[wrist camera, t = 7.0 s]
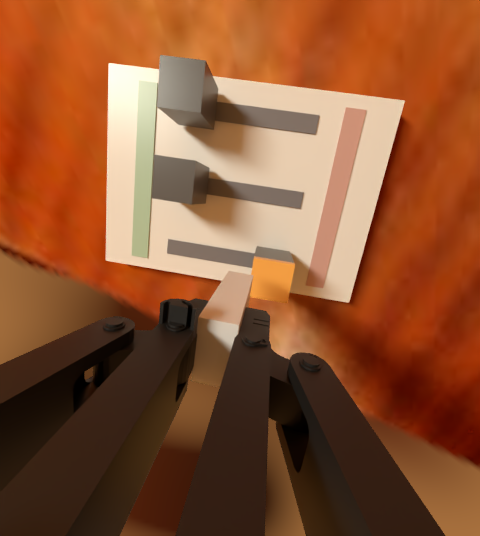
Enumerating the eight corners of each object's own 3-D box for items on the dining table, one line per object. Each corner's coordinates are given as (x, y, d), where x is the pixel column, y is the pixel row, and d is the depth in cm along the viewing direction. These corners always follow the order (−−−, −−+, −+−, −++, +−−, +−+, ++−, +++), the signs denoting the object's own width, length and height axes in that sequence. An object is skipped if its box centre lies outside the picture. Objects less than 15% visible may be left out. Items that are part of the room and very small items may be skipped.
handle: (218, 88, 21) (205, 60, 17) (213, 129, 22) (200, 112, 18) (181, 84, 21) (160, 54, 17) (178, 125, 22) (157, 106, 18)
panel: (393, 109, 23) (405, 100, 20) (343, 295, 27) (349, 303, 25) (121, 74, 24) (107, 62, 22) (116, 256, 28) (105, 260, 26)
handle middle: (209, 168, 23) (196, 160, 18) (205, 203, 24) (191, 204, 19) (175, 162, 23) (154, 154, 19) (173, 198, 24) (151, 198, 19)
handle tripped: (289, 251, 24) (295, 264, 19) (283, 282, 25) (287, 303, 20) (256, 245, 24) (253, 257, 19) (251, 277, 25) (247, 296, 20)
